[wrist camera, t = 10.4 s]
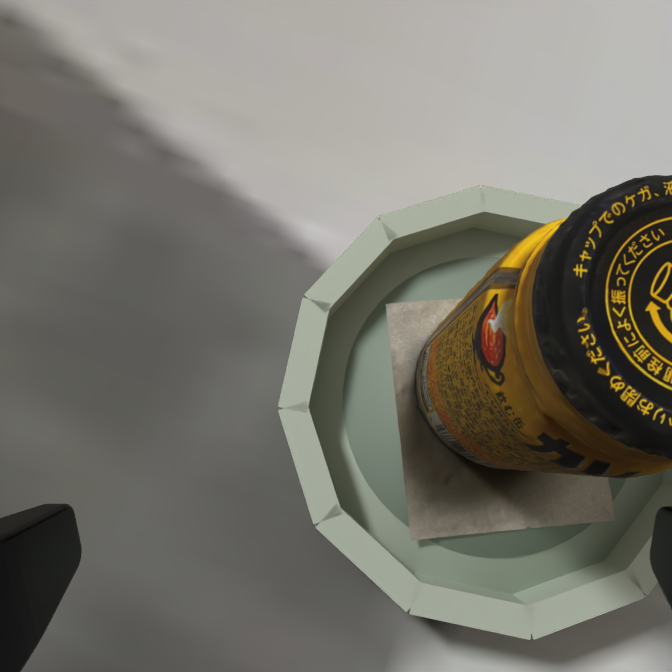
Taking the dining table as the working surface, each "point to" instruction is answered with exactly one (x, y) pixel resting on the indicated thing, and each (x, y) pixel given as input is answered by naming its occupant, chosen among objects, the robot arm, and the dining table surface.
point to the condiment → (542, 373)
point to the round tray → (385, 447)
